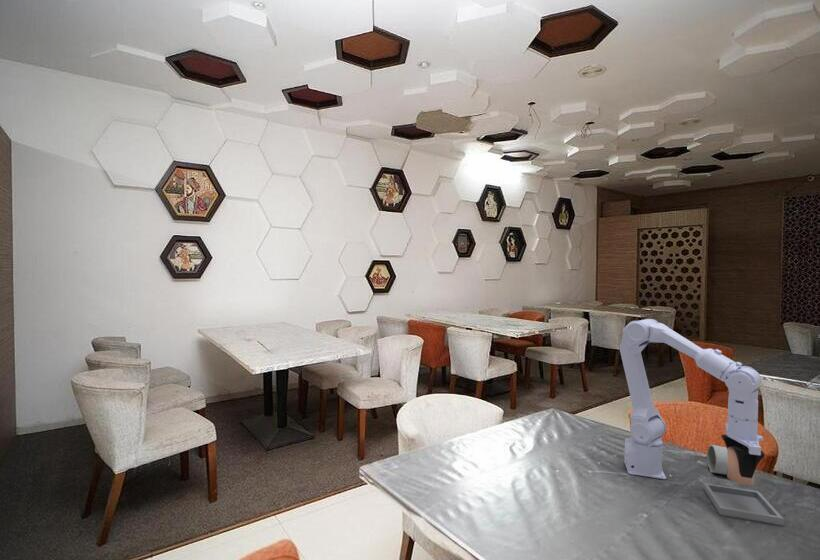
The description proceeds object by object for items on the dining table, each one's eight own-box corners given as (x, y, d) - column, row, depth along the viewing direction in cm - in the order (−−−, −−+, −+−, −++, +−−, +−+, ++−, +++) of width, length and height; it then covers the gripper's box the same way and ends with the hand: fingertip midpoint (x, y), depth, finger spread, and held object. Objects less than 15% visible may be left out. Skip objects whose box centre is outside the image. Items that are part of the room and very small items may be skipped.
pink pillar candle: (732, 482, 98) (732, 454, 98) (723, 472, 103) (723, 445, 103) (758, 486, 97) (758, 457, 97) (748, 475, 102) (748, 448, 101)
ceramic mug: (750, 482, 111) (751, 455, 111) (715, 477, 114) (715, 450, 114) (734, 465, 121) (735, 440, 121) (702, 461, 124) (703, 436, 124)
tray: (720, 515, 97) (720, 508, 97) (703, 489, 108) (703, 482, 108) (783, 526, 93) (783, 518, 92) (758, 498, 104) (758, 491, 104)
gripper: (778, 430, 91) (776, 489, 92) (749, 409, 105) (747, 460, 105) (740, 426, 94) (738, 483, 94) (716, 405, 107) (715, 456, 108)
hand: (741, 471), depth 100 cm, fingers closed on pink pillar candle, 5 cm apart
